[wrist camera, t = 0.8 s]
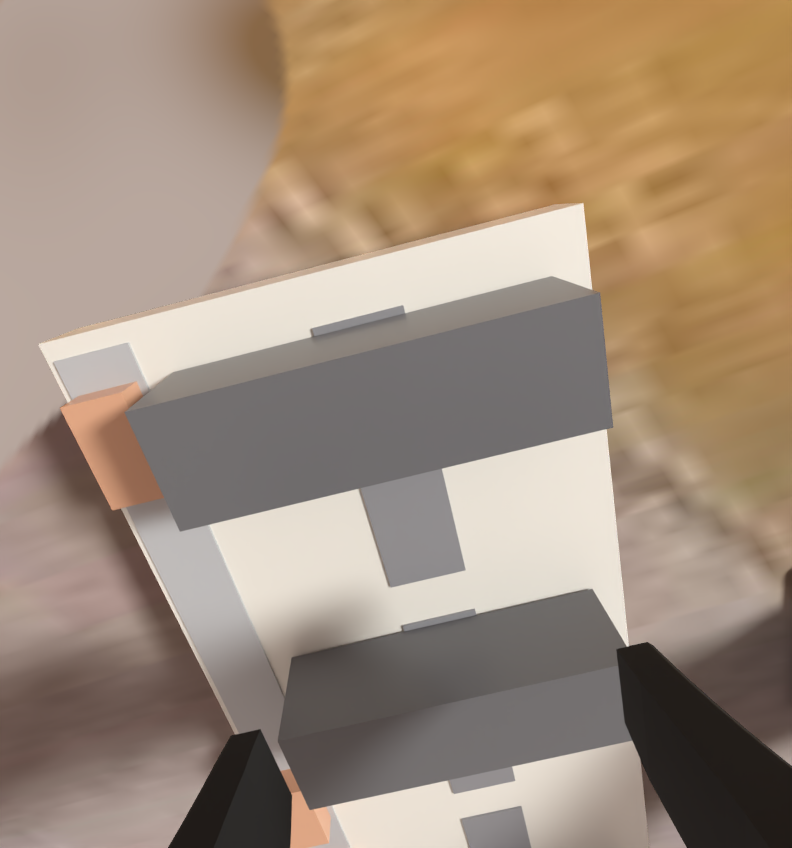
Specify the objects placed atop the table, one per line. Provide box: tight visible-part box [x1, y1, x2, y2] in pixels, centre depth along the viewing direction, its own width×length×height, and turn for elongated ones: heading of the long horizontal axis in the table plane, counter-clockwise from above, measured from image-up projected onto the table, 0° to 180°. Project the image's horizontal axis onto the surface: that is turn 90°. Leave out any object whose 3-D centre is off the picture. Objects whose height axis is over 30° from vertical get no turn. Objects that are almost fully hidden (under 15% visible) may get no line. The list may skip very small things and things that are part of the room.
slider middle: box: [278, 589, 632, 810], centre depth 17 cm, size 10×3×3 cm, turn 104°
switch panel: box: [38, 203, 649, 848], centre depth 19 cm, size 14×31×3 cm, turn 14°
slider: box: [124, 276, 613, 532], centre depth 13 cm, size 10×3×3 cm, turn 104°
